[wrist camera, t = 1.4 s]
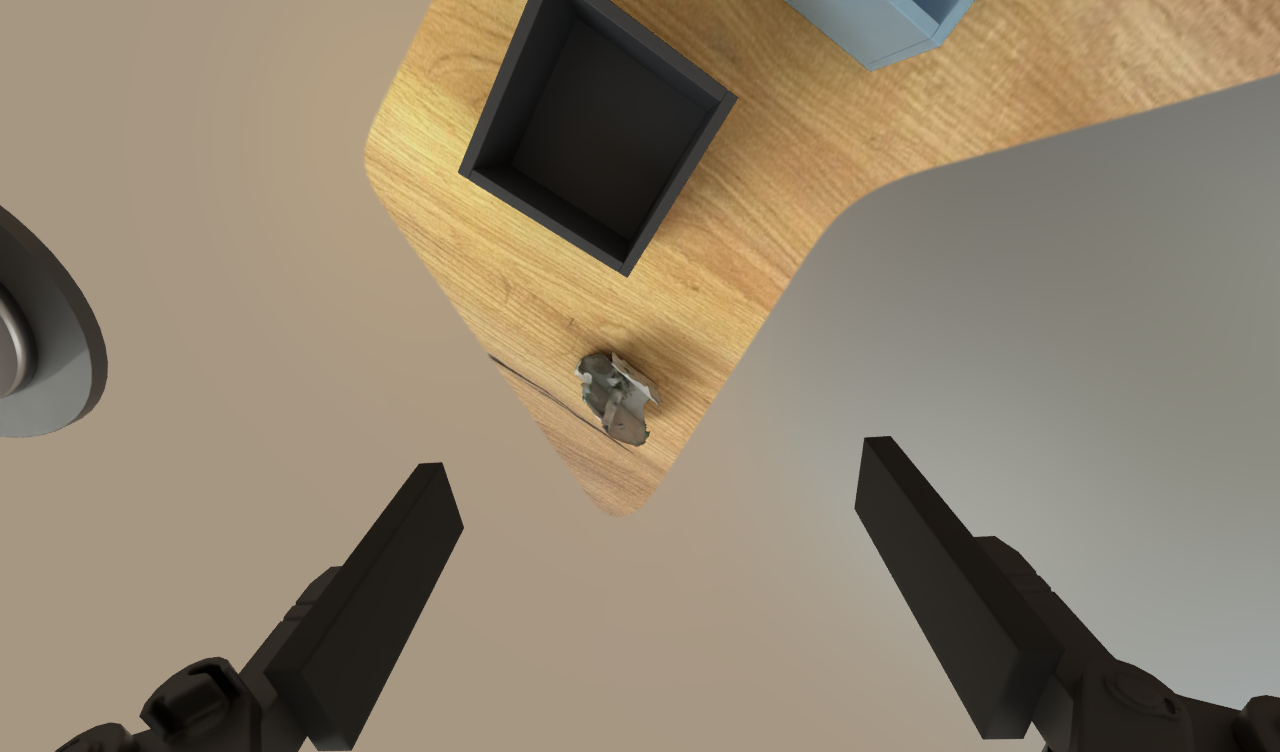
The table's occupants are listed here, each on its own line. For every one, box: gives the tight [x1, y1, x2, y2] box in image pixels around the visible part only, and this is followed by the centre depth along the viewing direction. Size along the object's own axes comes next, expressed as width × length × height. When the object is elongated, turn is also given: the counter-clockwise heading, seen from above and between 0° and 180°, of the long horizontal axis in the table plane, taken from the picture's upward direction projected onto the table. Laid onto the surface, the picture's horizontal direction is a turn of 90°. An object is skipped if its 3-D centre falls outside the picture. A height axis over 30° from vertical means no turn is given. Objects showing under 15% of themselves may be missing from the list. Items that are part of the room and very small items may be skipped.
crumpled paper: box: [574, 352, 663, 447], centre depth 34 cm, size 4×8×7 cm, turn 45°
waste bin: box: [458, 0, 738, 277], centre depth 26 cm, size 10×10×8 cm
